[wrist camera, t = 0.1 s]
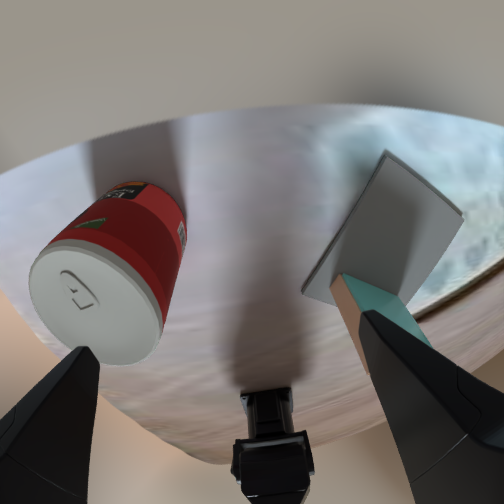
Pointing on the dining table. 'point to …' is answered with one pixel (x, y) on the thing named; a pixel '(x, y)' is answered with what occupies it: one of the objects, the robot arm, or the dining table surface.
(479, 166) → the dining table surface
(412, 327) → the tile
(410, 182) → the mat
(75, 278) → the canned food
